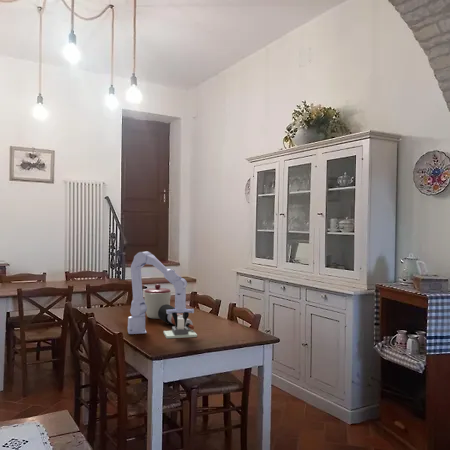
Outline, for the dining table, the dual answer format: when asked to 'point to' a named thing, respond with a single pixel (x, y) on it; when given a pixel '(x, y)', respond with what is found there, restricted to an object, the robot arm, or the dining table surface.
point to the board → (180, 333)
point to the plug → (180, 323)
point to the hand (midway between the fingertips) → (180, 326)
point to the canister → (156, 300)
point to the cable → (169, 318)
